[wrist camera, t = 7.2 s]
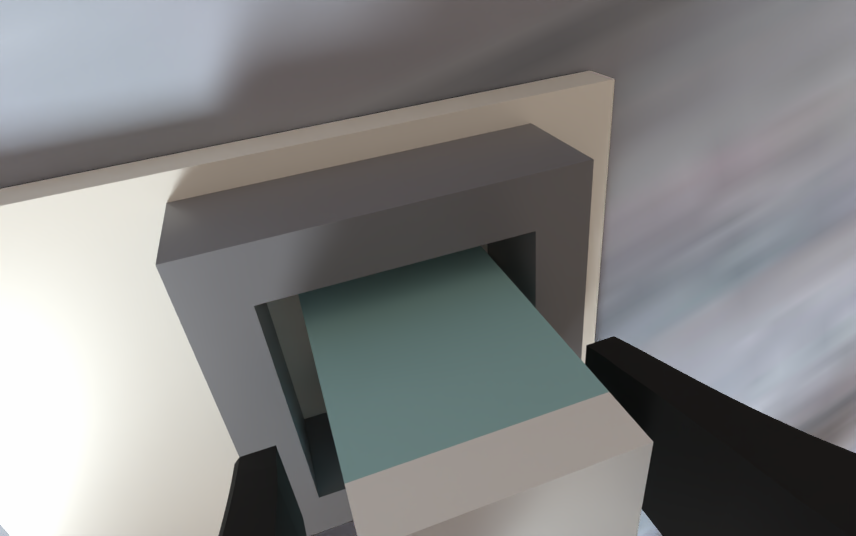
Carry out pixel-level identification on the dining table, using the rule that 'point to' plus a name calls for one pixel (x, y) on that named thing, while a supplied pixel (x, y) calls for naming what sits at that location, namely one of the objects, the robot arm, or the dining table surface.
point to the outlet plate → (262, 294)
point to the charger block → (468, 409)
